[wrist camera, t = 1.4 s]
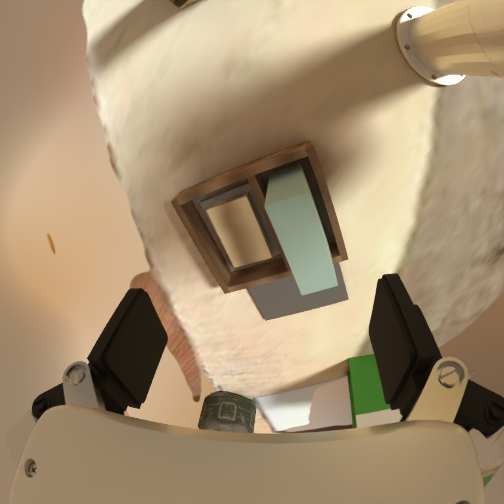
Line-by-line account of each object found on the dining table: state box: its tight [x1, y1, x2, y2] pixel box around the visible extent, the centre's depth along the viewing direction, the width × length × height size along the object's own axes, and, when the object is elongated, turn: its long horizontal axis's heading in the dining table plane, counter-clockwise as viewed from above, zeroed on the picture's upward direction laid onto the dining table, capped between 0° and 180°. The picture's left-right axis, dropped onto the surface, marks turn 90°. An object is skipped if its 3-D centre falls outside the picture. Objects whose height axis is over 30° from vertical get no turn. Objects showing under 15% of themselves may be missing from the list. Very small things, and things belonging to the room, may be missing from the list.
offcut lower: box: [199, 181, 280, 268], centre depth 41 cm, size 8×12×2 cm, turn 23°
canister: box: [198, 392, 256, 433], centre depth 61 cm, size 16×16×28 cm
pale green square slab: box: [264, 163, 338, 295], centre depth 34 cm, size 4×12×12 cm, turn 23°
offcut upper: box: [206, 192, 273, 268], centre depth 39 cm, size 6×10×2 cm, turn 21°
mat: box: [248, 262, 348, 320], centre depth 47 cm, size 16×9×1 cm, turn 113°
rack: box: [171, 141, 348, 294], centre depth 38 cm, size 20×17×4 cm
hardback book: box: [347, 354, 402, 429], centre depth 46 cm, size 18×7×24 cm, turn 103°
